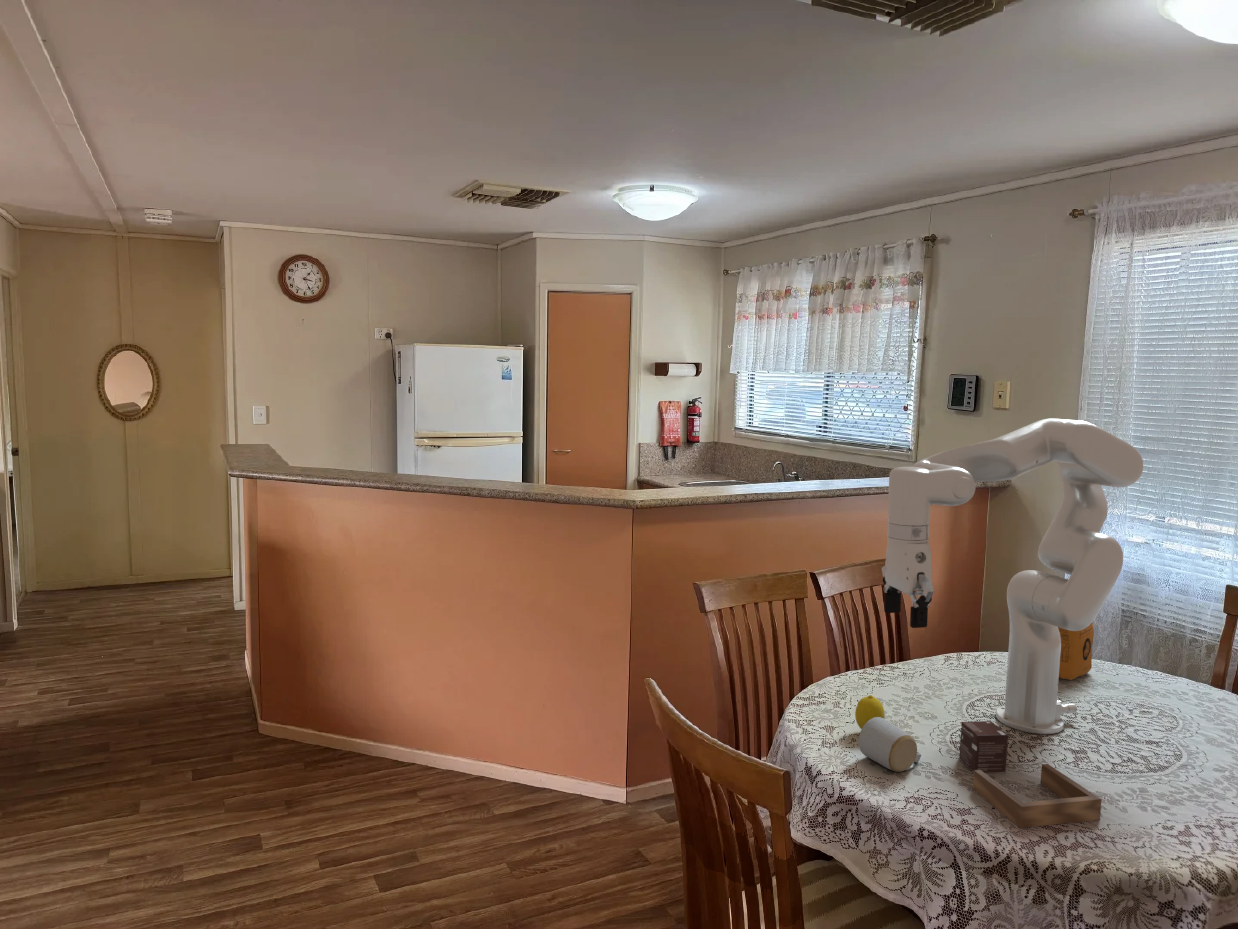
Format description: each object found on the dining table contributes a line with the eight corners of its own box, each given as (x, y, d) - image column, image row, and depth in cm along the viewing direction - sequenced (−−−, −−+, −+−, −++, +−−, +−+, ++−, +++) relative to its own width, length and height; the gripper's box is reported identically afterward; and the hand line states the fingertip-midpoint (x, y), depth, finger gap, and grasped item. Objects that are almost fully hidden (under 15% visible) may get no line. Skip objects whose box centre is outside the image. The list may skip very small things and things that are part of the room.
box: (958, 759, 155) (960, 721, 154) (989, 758, 156) (991, 720, 155) (974, 774, 149) (977, 735, 148) (1006, 773, 150) (1009, 734, 149)
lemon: (885, 741, 162) (887, 702, 161) (855, 738, 163) (857, 699, 162) (882, 730, 167) (883, 691, 166) (853, 727, 168) (855, 689, 168)
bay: (1046, 783, 146) (1047, 764, 146) (1099, 819, 134) (1101, 799, 134) (972, 789, 143) (973, 770, 143) (1020, 828, 131) (1022, 806, 131)
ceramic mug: (890, 778, 147) (893, 736, 146) (856, 759, 154) (858, 719, 153) (931, 767, 152) (934, 726, 151) (897, 749, 159) (899, 710, 158)
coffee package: (1098, 675, 200) (1105, 586, 198) (1071, 685, 194) (1078, 593, 191) (1057, 663, 209) (1063, 577, 206) (1030, 672, 202) (1036, 583, 199)
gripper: (952, 540, 150) (948, 632, 152) (903, 523, 167) (900, 606, 169) (913, 542, 149) (910, 634, 151) (868, 524, 166) (865, 608, 168)
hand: (905, 619), depth 160 cm, fingers open, 9 cm apart
